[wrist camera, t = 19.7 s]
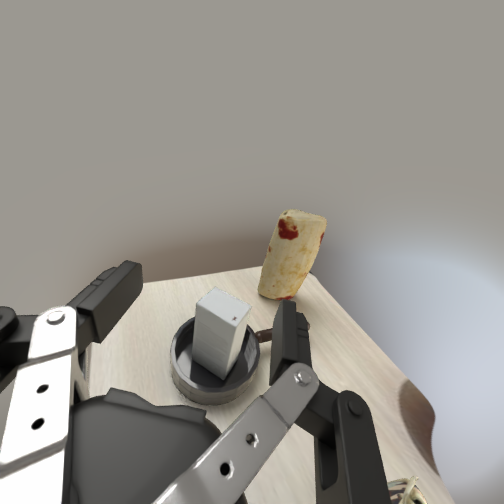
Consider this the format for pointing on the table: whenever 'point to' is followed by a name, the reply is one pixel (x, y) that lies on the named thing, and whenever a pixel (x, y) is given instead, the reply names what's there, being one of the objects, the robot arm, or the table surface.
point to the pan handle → (267, 335)
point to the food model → (291, 253)
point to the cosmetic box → (219, 331)
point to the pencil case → (405, 492)
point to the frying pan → (202, 380)
